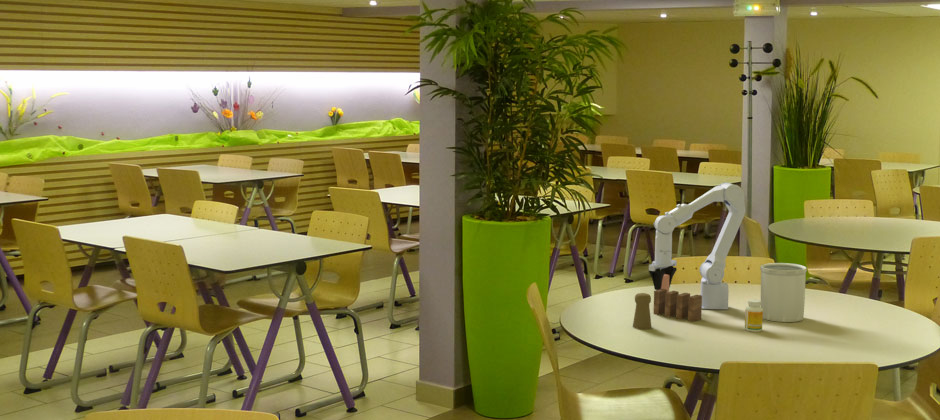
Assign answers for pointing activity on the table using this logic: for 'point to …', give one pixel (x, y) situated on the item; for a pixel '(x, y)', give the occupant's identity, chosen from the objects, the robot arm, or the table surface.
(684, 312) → the domino
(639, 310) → the cork
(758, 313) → the supplement bottle
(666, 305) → the domino
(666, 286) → the domino
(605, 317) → the table surface
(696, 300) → the domino
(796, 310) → the utensil holder
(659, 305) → the domino
